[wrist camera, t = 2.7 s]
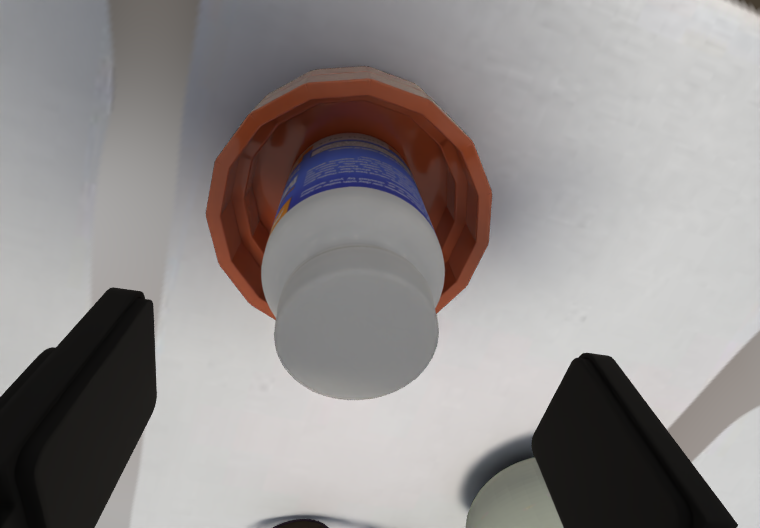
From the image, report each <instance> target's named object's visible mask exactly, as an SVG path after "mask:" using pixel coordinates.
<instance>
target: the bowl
mask: <svg viewBox="0 0 760 528" xmlns="http://www.w3.org/2000/svg"><path fill="white" fill-rule="evenodd" d="M340 133H360V134H365V135H368V136H371V137H374V138H377V139H379V140H381V141H383V142H385V143H386V144H388V145H389V146H391V147H392V148H393V149H394V150H396V151H397V152H398V153H399V154H400V156H401V157H402V158H403V159H404V161H405V162H406V163H407V165H408V167H409V168H410V170H411V172H412V175H413V177H414V180H415V183H416V185H417V188H418V191H419V194H420V196H421V198H422V201H423V203H424V206H425V208H426V211H427V213H428V216H429V218H430V221H431V223H432V226H433V228H434V230H435V233H436V236H437V238H438V241H439V244H440V247H441V250H442V254H443V259H444V266H445V277H444V285H443V290H442V293H441V297H440V300H439V302H438V304H437V306H436V308H435V311H436V314H437V313H438V312H439V311H440V310H441V309H442V308H443V307H444V306H446V305H447V304H448V303H449V302H450V301H451V300H452V299H453V298H455V297H456V296H457V295H458V294H459V293H460V292H461V291H462V290H463V289H465V288H466V286H467V285H468V283H469V281H470V279H471V277H472V275H473V273H474V271H475V269H476V267H477V265H478V263H479V261H480V260H481V258H482V256H483V254H484V252H485V250H486V248H487V246H488V243H489V234H490V220H491V205H492V190H491V188H490V185H489V182H488V180H487V177H486V174H485V172H484V169H483V166H482V164H481V161H480V158H479V156H478V153H477V150H476V148H475V145H474V143H473V142H472V140H471V139H470V138H469V137H468V136H467V135H466V133H465V132H464V131H463V130H462V129H461V128H460V127H459V126H458V125H457V124H456V123H455V122H454V121H453V119H452V118H451V117H450V116H449V115H448V114H447V113H446V112H444V111H443V110H442V109H441V108H440V107H439V106H438V105H437V104H436V103H435V102H434V101H433V100H432V99H431V98H430V97H429V96H428V95H427V94H426V93H425V92H424V91H423V90H422V89H421V88H420V87H419V86H418V85H416V84H415V83H412V82H409V81H407V80H404V79H401V78H399V77H396V76H393V75H390V74H388V73H385V72H382V71H380V70H377V69H374V68H372V67H369V66H367V67H366V66H358V67H343V68H329V69H315V70H314V71H309V72H308V73H306V74H304V75H302V76H300V77H298V78H297V79H295V80H293V81H291V82H289V83H287V84H286V85H284V86H282V87H280V88H278V89H277V90H275V91H273V92H271V93H269V94H268V95H267V96H266V97H265V98H264V99H263V100H262V101H261V102H260V103H259V104H258V105H257V106H256V107H255V108H254V109H253V110H252V111H251V112H250V113H249V114H248V116H247V117H246V119H245V120H244V121H243V123H242V124H241V125H240V127H239V128H238V130H237V131H236V132H235V134H234V135H233V136H232V138H231V139H230V141H229V142H228V143H227V145H226V146H225V147H224V149H223V150H222V152H221V153H220V154H219V156H218V157H217V158H216V161H215V163H214V168H213V174H212V180H211V185H210V191H209V197H208V202H207V208H206V219H207V222H208V226H209V230H210V233H211V237H212V241H213V245H214V248H215V252H216V256H217V259H218V263H219V264H220V267H221V268H222V269H223V270H224V272H225V273H226V274H227V276H228V277H229V278H230V279H231V281H232V282H233V283H234V285H235V286H236V287H237V288H238V290H239V291H240V292H241V294H242V295H243V296H244V297H245V299H246V300H247V301H248V302H249V303H250V304H251V305H252V306H254V307H255V308H257V309H258V310H260V311H262V312H263V313H265V314H266V315H268V316H270V317H271V318H273V319H275V320H276V317H275V316H274V314H273V313H272V311H271V309H270V308H269V305H268V303H267V301H266V298H265V295H264V291H263V287H262V280H261V266H262V261H263V256H264V252H265V248H266V244H267V241H268V238H269V235H270V232H271V229H272V226H273V223H274V219H275V216H276V213H277V210H278V207H279V204H280V201H281V198H282V195H283V192H284V189H285V185H286V182H287V179H288V176H289V174H290V172H291V170H292V168H293V166H294V164H295V162H296V161H297V159H298V158H299V157H300V156H301V154H302V153H303V152H304V151H305V150H306V149H307V148H308V147H310V146H311V145H312V144H314V143H315V142H317V141H319V140H321V139H323V138H325V137H328V136H331V135H335V134H340Z"/></svg>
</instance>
